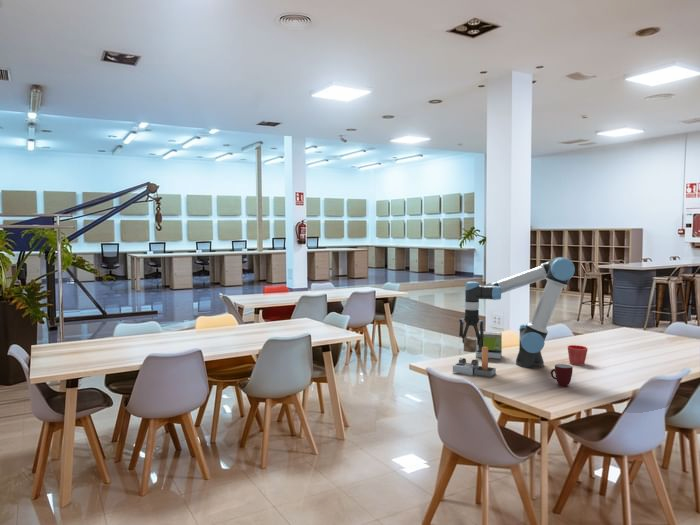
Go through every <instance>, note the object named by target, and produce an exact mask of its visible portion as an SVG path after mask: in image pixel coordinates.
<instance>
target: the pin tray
mask: <svg viewBox="0 0 700 525" xmlns="http://www.w3.org/2000/svg"><path fill="white" fill-rule="evenodd" d="M496 370H497V368H496V367H489V366H488V371H483V370H482V365H479V366H478V367H477V368H476V369H474V375H473V376H476V375H477V376H478V377H483V376H484V378H493V377H494V376H495V375H496V374H497V373H496V372H497V371H496ZM493 375H494V376H493Z"/></svg>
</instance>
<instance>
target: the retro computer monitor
mask: <svg viewBox="0 0 700 525" xmlns="http://www.w3.org/2000/svg"><path fill="white" fill-rule="evenodd" d="M479 334H480V330H479ZM502 335H503V334H502V332H501V331H484V338H482V339H480V345H479V350H478V351H476V352H475V358H482V347H488V359H502V351H503V350H502V347H503V346H502V345H503V344H502V343H503V342H502ZM475 337H477V336H476V335H475Z"/></svg>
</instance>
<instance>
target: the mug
mask: <svg viewBox="0 0 700 525" xmlns="http://www.w3.org/2000/svg"><path fill="white" fill-rule="evenodd" d="M554 373H555V376H554ZM572 376H573V366H572V365H570V364H564V363H558V364H555V365H554V368H553V369H552V370H551V371H550V377H551V378H552V379H553V380H556V383H557V385H558V387H561V388H567V387H569V385H570V383H571V381H572Z"/></svg>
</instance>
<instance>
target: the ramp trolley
mask: <svg viewBox="0 0 700 525" xmlns="http://www.w3.org/2000/svg"><path fill="white" fill-rule="evenodd" d="M479 363H480V362H479V359H472V360H471V363H468V362H467V358H464V357H460V358H459V360H458V362H455V363H454V364H453V365H452V373H453V372H456V373H455V374H458V373H462V374H461V375H465V374H468V375H467V376H472V375H473V376H475V375H474V369H476V368H477V367H479V366H480V365H479Z"/></svg>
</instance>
